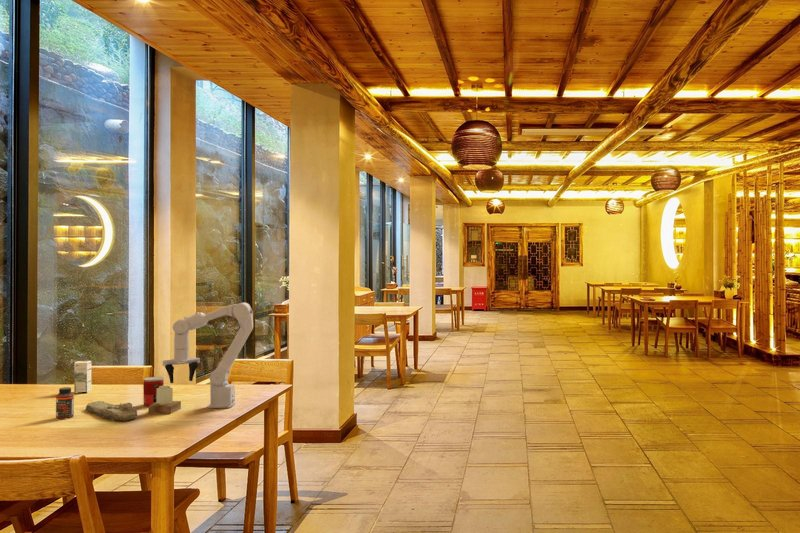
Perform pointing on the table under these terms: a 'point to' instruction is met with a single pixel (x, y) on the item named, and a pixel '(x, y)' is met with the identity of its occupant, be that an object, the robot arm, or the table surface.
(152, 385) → the canned food
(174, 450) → the table surface
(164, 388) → the cream cube with panel
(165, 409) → the walnut box
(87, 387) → the syrup box
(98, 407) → the long grey stone
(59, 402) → the supplement bottle
